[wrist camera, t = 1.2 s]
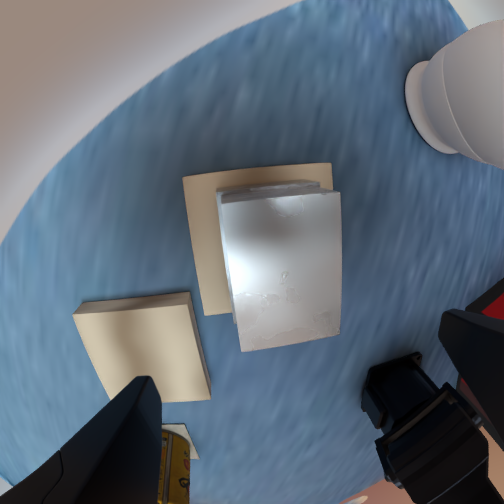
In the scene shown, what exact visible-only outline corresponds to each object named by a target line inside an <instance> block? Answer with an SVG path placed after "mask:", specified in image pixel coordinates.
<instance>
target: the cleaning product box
mask: <svg viewBox="0 0 504 504" xmlns="http://www.w3.org/2000/svg"><path fill="white" fill-rule="evenodd" d="M465 311H467V312H471V313H476V314H480V315H485V316H489V317H493V318H498V319H502V320H504V278H503V279H501V280H500V281H499V282H498V283H497V284H495V285H494V286H493V287H492V288H491V289H489V290H488V291H487V292H486V293H484V294H483V295H482V296H480V297H479V298H478V299H477V300H475V301H474V302H473V303H471V304H470V305H469V306H467V307H466V308H465ZM456 391H457V392H458V393H459V394H460V395H461V396H462V397H463V398H464V399H465V400H466V401H467V402H468V403H469V404H470V405H471V406H472V407H473V409H474V410H475V411H476V412H477V414H478V415H479V416H480V418H481V419H482V421H483V423H484V425H483V427H484V428H485V430H486V431H487V432H488V433H489V434H490V435H491V437H492V438H493V439H494V440H495V442H496V443H497V444H498V445H499V446H500V448H501V449H502V450H503V451H504V444H503V442H502V440H501V439H500V437H499V435H498V433H497V432H496V430H495V428H494V427H493V425H492V423H491V422H490V420H489V418H488V417H487V415H486V413H485V412H484V410H483V409H482V407H481V406H480V404H479V402H478V401H477V399H476V398H475V396H474V395H473V393H472V392H471V390H470V389H469V387H468V386H467V384H466V383H465V381H464V380H463V379H462V377H461V376H460V374H459V375H458V381H457V386H456Z"/></svg>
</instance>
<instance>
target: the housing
mask: <svg viewBox="0 0 504 504" xmlns="http://www.w3.org/2000/svg"><path fill="white" fill-rule="evenodd" d="M216 197H217V205H218V213H219V221H220V229H221V237H222V244H223V252H224V259H225V266H226V273H227V280H228V287H229V294H230V301H231V308H232V314H233V321H234V324H236V323H237V326H238V332H239V339H240V346H241V352H246V351H253V350H260V349H266V348H273V347H279V346H284V345H290V344H296V343H301V342H306V341H311V340H316V339H321V338H326V337H331V336H335V335H340V316H341V288H342V227H341V198H340V192H338V191H334V190H330V189H326V188H322V187H320V182H317V181H311V180H305V179H298V180H286V181H275V182H265V183H255V184H246V185H237V186H229V187H220V188H216Z"/></svg>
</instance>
